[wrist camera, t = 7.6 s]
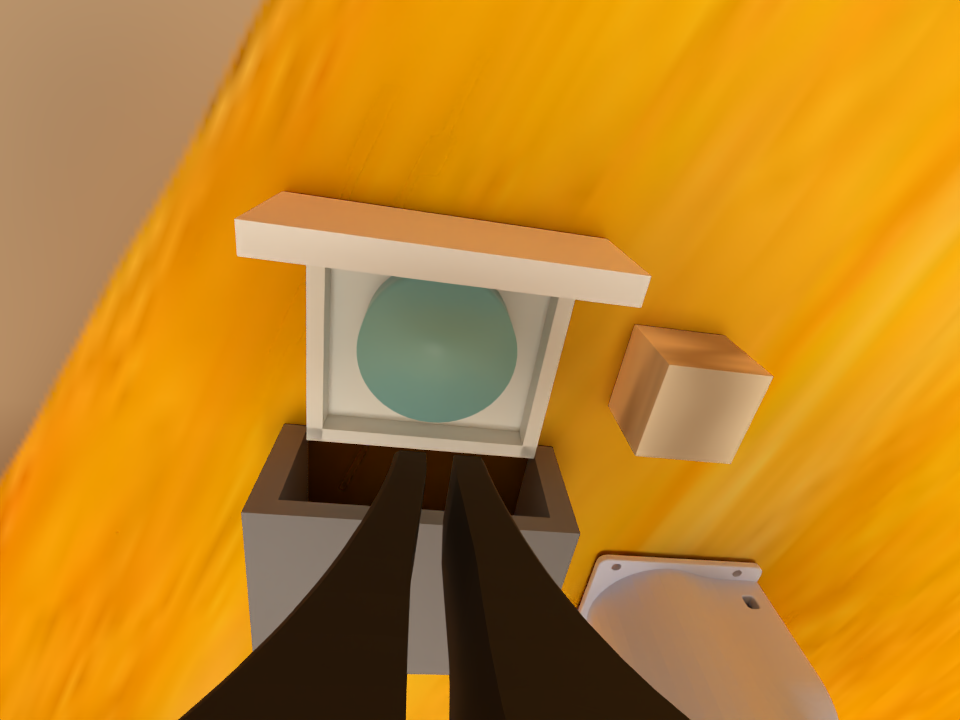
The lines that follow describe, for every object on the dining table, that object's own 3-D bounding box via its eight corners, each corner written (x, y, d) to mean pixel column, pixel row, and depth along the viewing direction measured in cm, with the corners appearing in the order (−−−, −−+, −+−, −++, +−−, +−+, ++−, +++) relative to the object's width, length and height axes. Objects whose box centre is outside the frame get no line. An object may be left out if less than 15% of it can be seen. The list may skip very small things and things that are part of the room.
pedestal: (724, 335, 21) (773, 376, 18) (691, 414, 23) (730, 463, 20) (634, 324, 20) (669, 364, 17) (607, 406, 22) (635, 455, 19)
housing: (552, 446, 23) (580, 533, 18) (516, 578, 27) (531, 676, 22) (284, 423, 21) (241, 512, 17) (288, 567, 25) (254, 670, 21)
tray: (607, 238, 18) (651, 276, 14) (553, 435, 22) (576, 505, 19) (282, 191, 17) (234, 218, 13) (287, 411, 21) (252, 482, 17)
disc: (523, 273, 18) (532, 291, 16) (496, 401, 20) (501, 429, 19) (369, 250, 17) (361, 267, 15) (360, 386, 20) (352, 414, 18)
